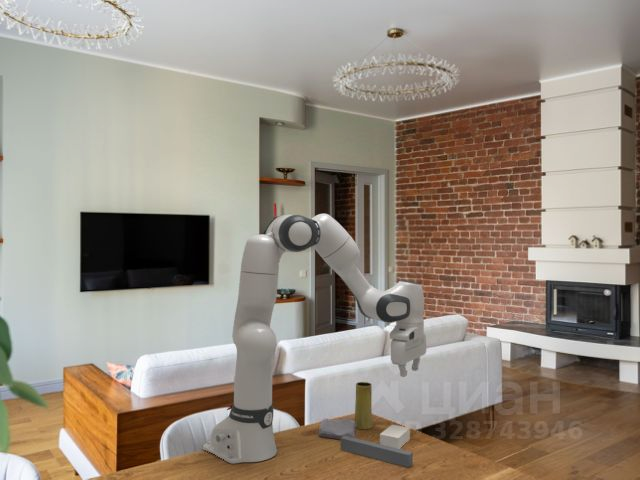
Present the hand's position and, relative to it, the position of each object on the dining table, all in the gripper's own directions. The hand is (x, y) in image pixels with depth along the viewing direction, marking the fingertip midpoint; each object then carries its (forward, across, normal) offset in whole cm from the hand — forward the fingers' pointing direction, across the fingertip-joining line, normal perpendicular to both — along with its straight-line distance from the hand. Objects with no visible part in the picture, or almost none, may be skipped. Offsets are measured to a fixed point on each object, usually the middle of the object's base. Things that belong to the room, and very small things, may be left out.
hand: (409, 373), depth 177 cm
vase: (+20, +3, -15) cm, 25 cm away
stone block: (+20, +14, -19) cm, 31 cm away
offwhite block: (+20, +10, 0) cm, 22 cm away
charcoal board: (+19, +23, 0) cm, 30 cm away
